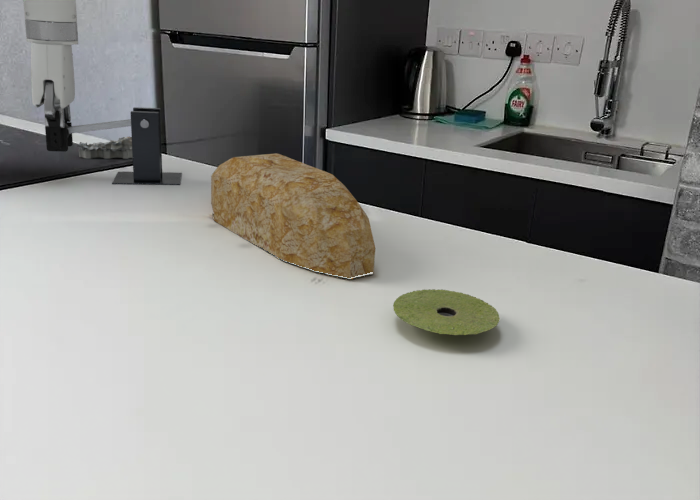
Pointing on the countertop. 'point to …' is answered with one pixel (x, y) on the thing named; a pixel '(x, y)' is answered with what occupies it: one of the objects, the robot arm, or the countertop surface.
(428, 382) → the countertop surface
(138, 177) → the bracket
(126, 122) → the lever
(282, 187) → the bread
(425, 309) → the green disc with hole
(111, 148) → the egg carton
